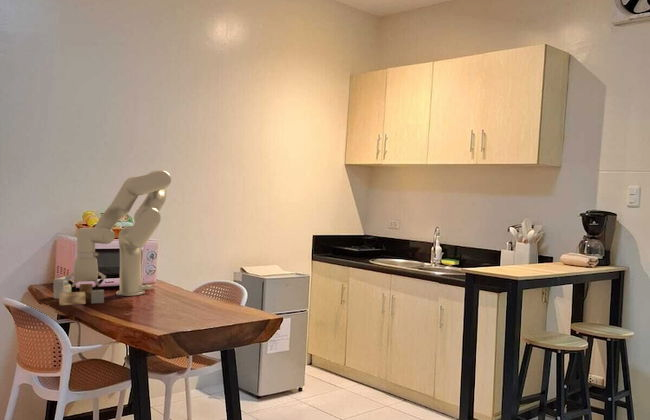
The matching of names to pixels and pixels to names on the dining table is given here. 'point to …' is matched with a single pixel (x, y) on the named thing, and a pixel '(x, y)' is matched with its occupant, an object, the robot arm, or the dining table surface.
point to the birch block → (72, 298)
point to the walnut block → (86, 290)
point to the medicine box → (61, 286)
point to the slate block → (97, 296)
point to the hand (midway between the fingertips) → (85, 294)
